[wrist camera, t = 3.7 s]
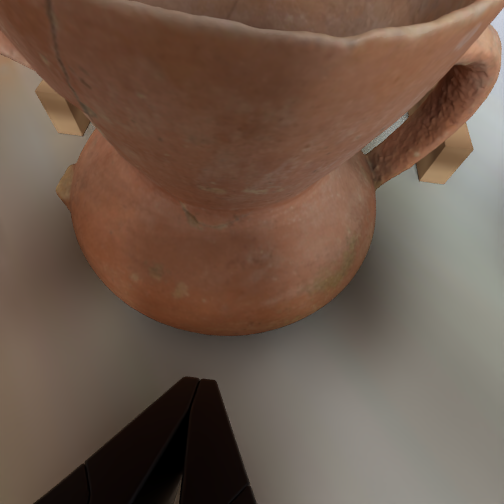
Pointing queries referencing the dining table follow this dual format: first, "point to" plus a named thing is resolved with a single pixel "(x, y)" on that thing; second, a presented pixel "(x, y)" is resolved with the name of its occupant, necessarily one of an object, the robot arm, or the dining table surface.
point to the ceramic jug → (246, 138)
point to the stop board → (446, 154)
